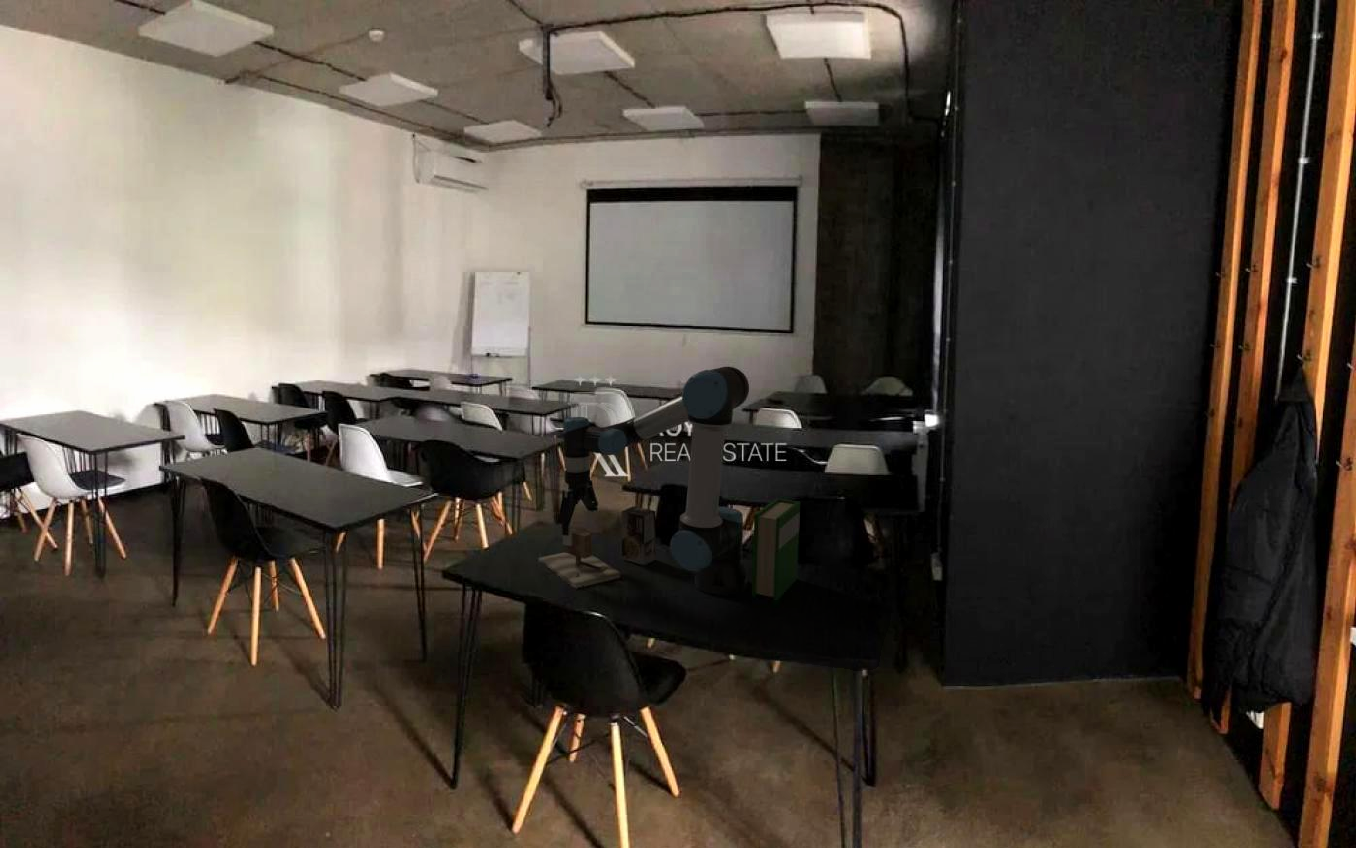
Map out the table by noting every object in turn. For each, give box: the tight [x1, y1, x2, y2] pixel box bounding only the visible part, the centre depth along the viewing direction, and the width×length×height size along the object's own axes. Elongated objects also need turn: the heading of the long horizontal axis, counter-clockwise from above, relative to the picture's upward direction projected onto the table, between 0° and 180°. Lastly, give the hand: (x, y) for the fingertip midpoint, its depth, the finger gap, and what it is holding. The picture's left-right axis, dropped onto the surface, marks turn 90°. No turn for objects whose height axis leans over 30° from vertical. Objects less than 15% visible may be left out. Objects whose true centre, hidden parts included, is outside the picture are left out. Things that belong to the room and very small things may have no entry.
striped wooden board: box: [538, 551, 621, 589], centre depth 233 cm, size 24×15×2 cm, turn 36°
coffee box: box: [620, 506, 656, 566], centre depth 241 cm, size 9×6×16 cm
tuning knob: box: [564, 528, 601, 570], centre depth 231 cm, size 12×3×10 cm, turn 55°
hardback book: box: [751, 497, 801, 602], centre depth 220 cm, size 18×7×24 cm, turn 153°
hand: (579, 538), depth 231 cm, fingers open, 13 cm apart
